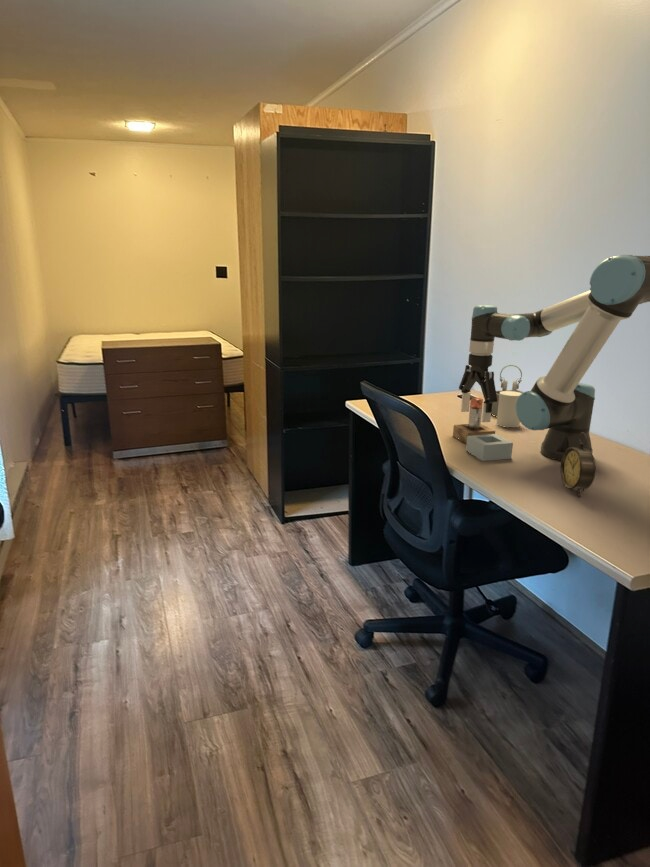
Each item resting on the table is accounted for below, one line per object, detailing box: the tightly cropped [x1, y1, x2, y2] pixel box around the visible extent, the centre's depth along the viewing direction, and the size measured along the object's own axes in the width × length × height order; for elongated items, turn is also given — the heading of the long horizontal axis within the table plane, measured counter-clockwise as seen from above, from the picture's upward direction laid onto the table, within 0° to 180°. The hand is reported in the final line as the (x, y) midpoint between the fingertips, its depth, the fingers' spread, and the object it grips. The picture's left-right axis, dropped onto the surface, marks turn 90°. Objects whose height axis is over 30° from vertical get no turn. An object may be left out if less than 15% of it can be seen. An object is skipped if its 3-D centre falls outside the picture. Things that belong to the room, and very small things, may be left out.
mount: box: [452, 423, 496, 445], centre depth 200 cm, size 10×10×4 cm
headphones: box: [499, 364, 523, 392], centre depth 230 cm, size 8×4×20 cm, turn 71°
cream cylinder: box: [496, 390, 522, 428], centre depth 217 cm, size 8×8×12 cm
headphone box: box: [491, 389, 525, 416], centre depth 232 cm, size 8×12×9 cm
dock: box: [465, 433, 514, 462], centre depth 184 cm, size 10×10×5 cm
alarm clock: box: [559, 432, 597, 498], centre depth 154 cm, size 11×5×16 cm, turn 3°
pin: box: [467, 397, 484, 431], centre depth 199 cm, size 4×4×14 cm
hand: (475, 416), depth 199 cm, fingers open, 13 cm apart
